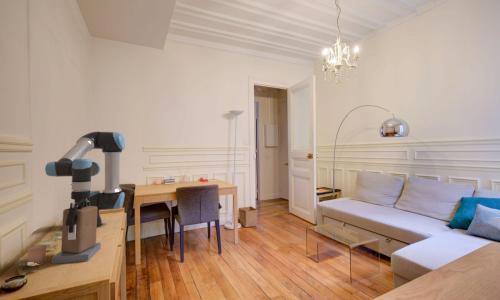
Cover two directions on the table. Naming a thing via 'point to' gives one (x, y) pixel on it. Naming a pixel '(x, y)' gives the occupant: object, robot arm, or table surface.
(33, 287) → the table surface
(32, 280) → the table surface
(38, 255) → the reddish brown block
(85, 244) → the wooden block
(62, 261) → the slate plinth
